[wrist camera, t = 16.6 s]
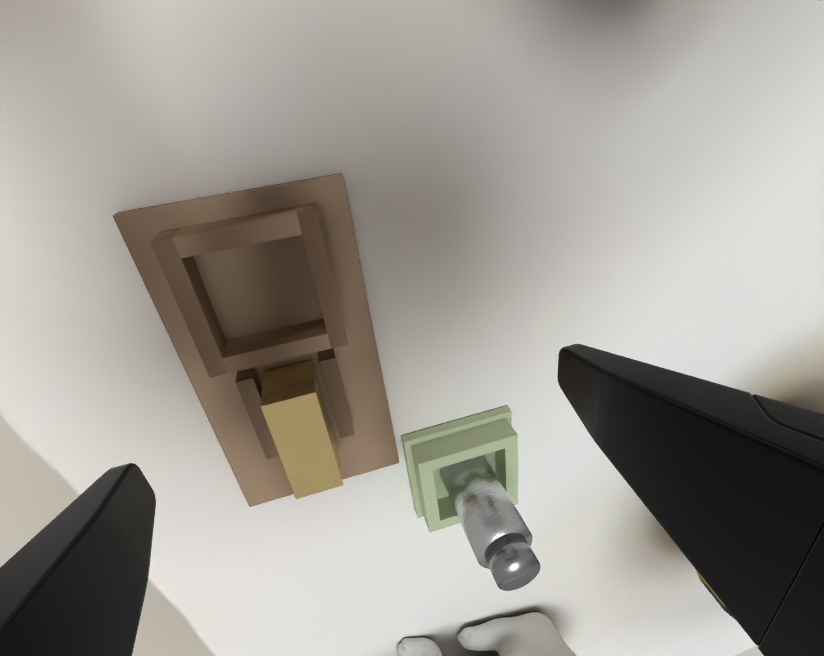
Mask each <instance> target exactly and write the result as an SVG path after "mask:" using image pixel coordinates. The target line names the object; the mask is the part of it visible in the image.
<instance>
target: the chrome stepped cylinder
mask: <svg viewBox="0 0 824 656" xmlns="http://www.w3.org/2000/svg"><path fill="white" fill-rule="evenodd" d="M440 477H441V480H442V482H443V484H444V486H445V489H446V491H447V493H448V495H449V497H450V500H451V502H452V504H453V506H454V509H455V511H456V513H457V515H458V518H459V520H460V522H461V524H462V527H463V529H464V531H465V533H466V536H467V538H468V540H469V542H470V545H471V547H472V549H473V551H474V554H475V556H476V558H477V560H478V563H479V564H480V565H481V566H482V567H484V568H488V569H490V570H491V573H492V575H493V577H494V579H495V581H496V583H497V586H498V587H499V588H500V589H501V590H505V591H510V590H515V589H518V588H521V587H523V586H525V585H526V584H528V583H529V582H531V581H532V580H533V579H534V578H535V577H536V576H537V574H538V573H539V571H540V563H539V561H538V559H537V558H536V556H535V554H534V553H533V551H532V549H531V547H530V545H531V543H532V534H531V532H530V531H529V529H528V527H527V526H526V524H525V522H524V521H523V519H522V517H521V516H520V514H519V512H518V511H517V509H516V507H515V506H514V504H513V502H512V501H511V499H510V497H509V496H508V494H507V492H506V491H505V489H504V487H503V486H502V484H501V482H500V481H499V479H498V477H497V476H496V474H495V472H494V470H493V469H492V467H491V465H490V464H489V462H488V460H487V459H486V457H485V455H481V456H478V457H475V458H471V459H468V460H465V461H461V462H458V463H455V464H452V465H448V466H445V467H442V468H440Z"/></svg>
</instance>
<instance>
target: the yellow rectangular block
mask: <svg viewBox="0 0 824 656" xmlns="http://www.w3.org/2000/svg"><path fill="white" fill-rule="evenodd" d="M261 409H262V411H263V414H264V417H265V419H266V422H267V424H268V427H269V430H270V432H271V435H272V437H273V440H274V443H275V445H276V448H277V450H278V453H279V456H280V458H281V461H282V463H283V466H284V469H285V471H286V474H287V476H288V479H289V482H290V484H291V487H292V489H293V492H294V495H295V497H296V499H298V498H301V497H305V496H308V495H311V494H315V493H318V492H321V491H325V490H328V489H331V488H335V487H338V486H342V485H343V480H342V474H341V468H340V461H339V455H338V449H337V445H336V441H335V438H334V434H333V431H332V427H331V424H330V420H329V417H328V413H327V410H326V407H325V403H324V400H323V396H322V393H321V389H320V386H319V382H318V379H317V375H316V372H315V369H314V365H313V362H312V360H310V361H306V362H302V363H298V364H294V365H290V366H286V367H282V368H278V369H274V370H269V371H265V372H263V382H262V395H261Z"/></svg>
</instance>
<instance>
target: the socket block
mask: <svg viewBox="0 0 824 656" xmlns="http://www.w3.org/2000/svg"><path fill="white" fill-rule="evenodd" d="M113 218H114V220H115V222H116V224H117V226H118V228H119V230H120V232H121V235H122V237H123V239H124V241H125V243H126V245H127V247H128V249H129V252H130V254H131V256H132V258H133V260H134V262H135V264H136V266H137V269H138V271H139V273H140V275H141V277H142V279H143V281H144V283H145V286H146V288H147V290H148V292H149V294H150V296H151V298H152V300H153V303H154V305H155V307H156V309H157V311H158V313H159V315H160V317H161V320H162V322H163V324H164V326H165V328H166V330H167V332H168V334H169V337H170V339H171V341H172V343H173V345H174V347H175V349H176V351H177V354H178V356H179V358H180V360H181V362H182V364H183V366H184V369H185V371H186V373H187V375H188V377H189V379H190V381H191V383H192V386H193V388H194V390H195V392H196V394H197V396H198V398H199V400H200V403H201V405H202V407H203V409H204V411H205V413H206V415H207V417H208V420H209V422H210V424H211V426H212V428H213V430H214V432H215V434H216V437H217V439H218V441H219V443H220V445H221V447H222V449H223V451H224V454H225V456H226V458H227V460H228V462H229V464H230V466H231V468H232V471H233V473H234V475H235V477H236V479H237V481H238V483H239V485H240V488H241V490H242V492H243V494H244V496H245V498H246V500H247V502H248V505H249V507H251V506H255V505H258V504H261V503H265V502H268V501H271V500H275V499H278V498H281V497H285V496H288V495H292V494H294V492H293V489H292V487H291V484H290V482H289V479H288V476H287V474H286V471H285V469H284V466H283V463H282V461H281V458H280V456H279V453H278V450H277V448H276V445H275V443H274V440H273V437H272V435H271V432H270V430H269V427H268V424H267V422H266V419H265V417H264V414H263V411H262V409H261V395H262V382H263V372H265V371H269V370H274V369H278V368H282V367H286V366H290V365H294V364H298V363H302V362H306V361H310V360H312V362H313V365H314V369H315V372H316V375H317V379H318V382H319V386H320V389H321V393H322V396H323V400H324V403H325V407H326V410H327V413H328V417H329V420H330V424H331V427H332V431H333V434H334V438H335V441H336V445H337V449H338V455H339V461H340V468H341V474H342V479H346V478H349V477H352V476H356V475H359V474H362V473H366V472H369V471H372V470H376V469H379V468H383V467H386V466H389V465H393V464H396V463H399V459H398V453H397V448H396V443H395V438H394V433H393V428H392V423H391V418H390V413H389V408H388V403H387V398H386V392H385V387H384V382H383V377H382V372H381V367H380V362H379V357H378V352H377V347H376V342H375V336H374V331H373V326H372V321H371V316H370V311H369V306H368V301H367V296H366V291H365V286H364V281H363V275H362V270H361V265H360V260H359V255H358V250H357V245H356V240H355V235H354V230H353V225H352V219H351V214H350V209H349V204H348V199H347V194H346V189H345V184H344V179H343V175H342V174H341V173H340V174H334V175H329V176H323V177H317V178H312V179H306V180H300V181H294V182H289V183H283V184H277V185H272V186H266V187H260V188H254V189H249V190H243V191H237V192H232V193H226V194H220V195H215V196H209V197H203V198H197V199H192V200H186V201H180V202H175V203H169V204H163V205H157V206H152V207H146V208H140V209H135V210H129V211H123V212H118V213H116V214H115V215H113Z"/></svg>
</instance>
